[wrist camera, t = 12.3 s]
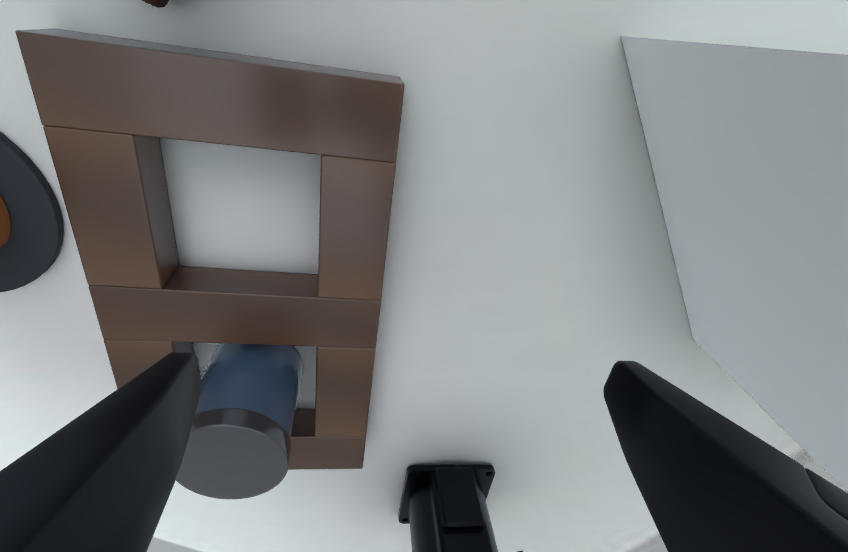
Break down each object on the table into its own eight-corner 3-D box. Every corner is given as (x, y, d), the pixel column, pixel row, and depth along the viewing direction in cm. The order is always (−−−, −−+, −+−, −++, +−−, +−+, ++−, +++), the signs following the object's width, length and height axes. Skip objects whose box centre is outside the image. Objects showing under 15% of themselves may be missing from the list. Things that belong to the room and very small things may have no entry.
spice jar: (304, 398, 27) (289, 498, 21) (215, 397, 26) (174, 501, 20) (305, 331, 24) (287, 425, 19) (205, 328, 23) (156, 425, 18)
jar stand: (362, 440, 29) (362, 469, 28) (156, 440, 27) (140, 472, 25) (400, 77, 18) (404, 84, 16) (55, 28, 16) (14, 30, 14)
